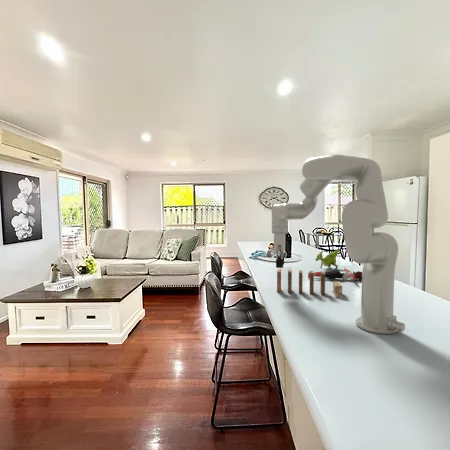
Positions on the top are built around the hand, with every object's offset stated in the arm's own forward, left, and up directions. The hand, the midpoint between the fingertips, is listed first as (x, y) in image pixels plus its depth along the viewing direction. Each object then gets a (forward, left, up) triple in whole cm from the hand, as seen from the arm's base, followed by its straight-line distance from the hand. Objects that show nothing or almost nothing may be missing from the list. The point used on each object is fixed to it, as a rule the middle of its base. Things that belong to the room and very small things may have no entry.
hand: (280, 266), depth 140 cm
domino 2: (-3, -4, -12) cm, 13 cm away
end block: (-18, -19, -12) cm, 29 cm away
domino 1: (+1, 0, -12) cm, 12 cm away
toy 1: (+24, -63, -13) cm, 68 cm away
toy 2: (+2, -43, -13) cm, 44 cm away
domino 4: (-10, -11, -12) cm, 19 cm away
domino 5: (-13, -14, -12) cm, 23 cm away
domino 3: (-6, -7, -12) cm, 16 cm away
